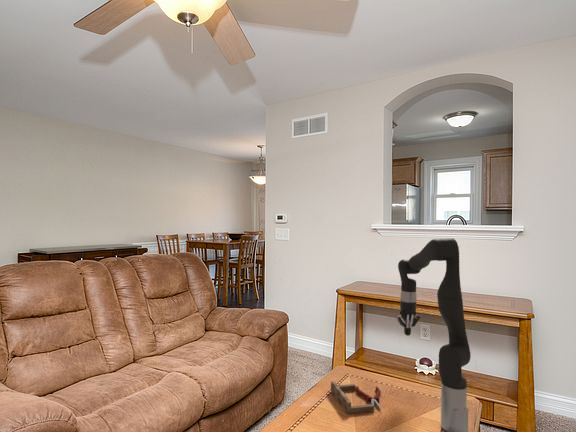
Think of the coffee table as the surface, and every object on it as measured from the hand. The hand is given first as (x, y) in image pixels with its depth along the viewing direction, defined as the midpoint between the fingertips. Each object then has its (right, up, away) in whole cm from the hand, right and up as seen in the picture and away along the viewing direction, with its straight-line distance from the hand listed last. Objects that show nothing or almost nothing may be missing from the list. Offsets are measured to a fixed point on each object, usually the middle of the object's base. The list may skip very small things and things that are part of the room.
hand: (407, 335), depth 176 cm
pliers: (-22, -26, -12) cm, 36 cm away
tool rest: (-30, -25, -15) cm, 42 cm away
